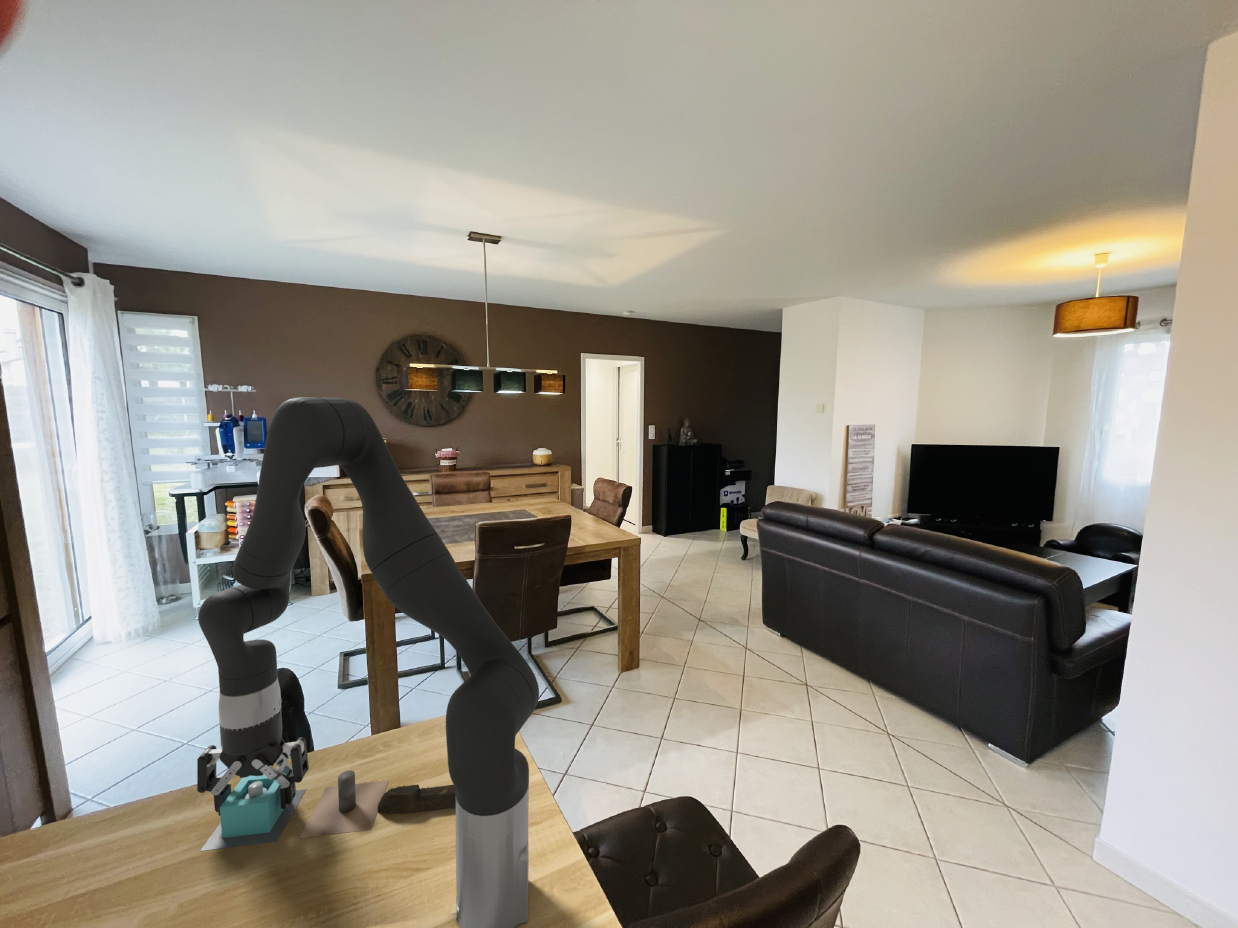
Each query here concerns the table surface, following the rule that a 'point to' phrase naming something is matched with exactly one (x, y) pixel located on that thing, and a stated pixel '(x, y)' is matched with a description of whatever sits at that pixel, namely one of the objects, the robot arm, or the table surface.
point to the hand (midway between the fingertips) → (256, 807)
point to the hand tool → (417, 799)
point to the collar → (250, 809)
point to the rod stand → (345, 807)
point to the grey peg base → (272, 836)
